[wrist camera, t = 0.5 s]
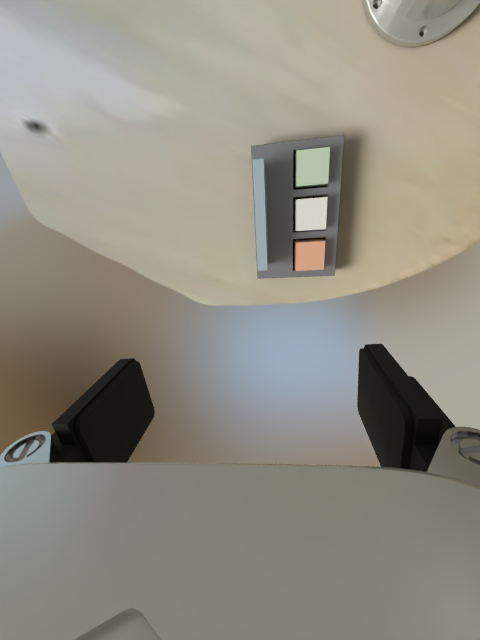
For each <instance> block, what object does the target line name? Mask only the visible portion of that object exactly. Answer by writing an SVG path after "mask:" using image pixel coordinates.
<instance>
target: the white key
mask: <svg viewBox="0 0 480 640" xmlns="http://www.w3.org/2000/svg"><path fill="white" fill-rule="evenodd" d="M327 199H328V197H320V198H308V199H296V200H295V230H296V231H306V230H321V229H326V219H327Z"/></svg>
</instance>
